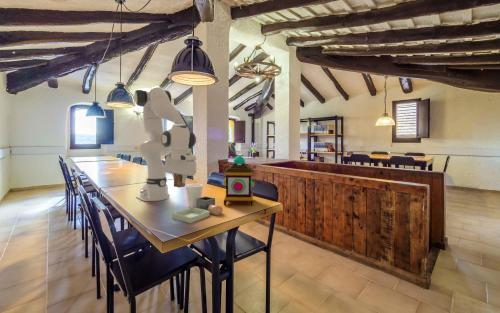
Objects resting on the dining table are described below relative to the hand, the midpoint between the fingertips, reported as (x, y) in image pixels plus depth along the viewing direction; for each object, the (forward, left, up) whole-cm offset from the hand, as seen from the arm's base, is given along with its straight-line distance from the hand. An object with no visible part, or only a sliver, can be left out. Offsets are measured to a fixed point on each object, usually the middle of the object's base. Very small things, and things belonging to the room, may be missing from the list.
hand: (179, 182), depth 124 cm
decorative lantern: (+11, +38, -18) cm, 44 cm away
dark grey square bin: (+6, +13, -18) cm, 23 cm away
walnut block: (0, 0, -2) cm, 2 cm away
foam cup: (-5, +15, -18) cm, 24 cm away
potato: (+14, +10, -18) cm, 25 cm away
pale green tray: (+8, 0, -18) cm, 19 cm away
